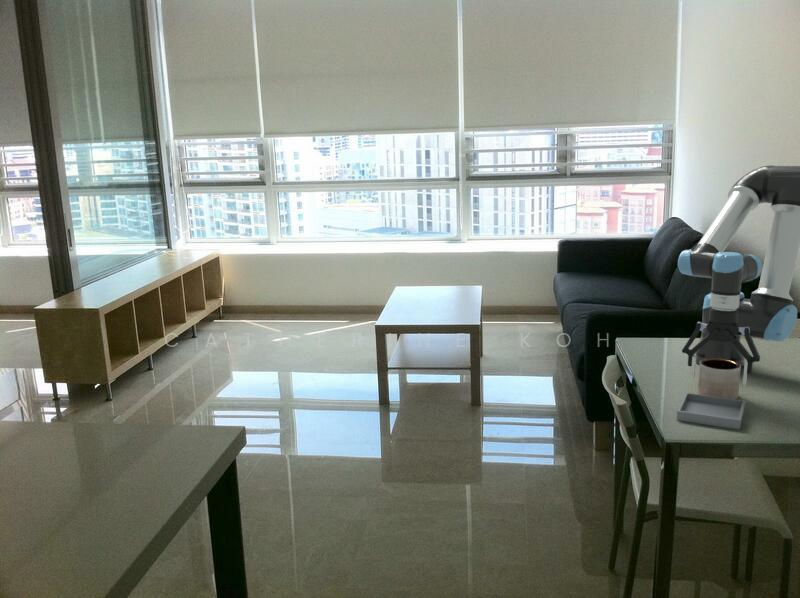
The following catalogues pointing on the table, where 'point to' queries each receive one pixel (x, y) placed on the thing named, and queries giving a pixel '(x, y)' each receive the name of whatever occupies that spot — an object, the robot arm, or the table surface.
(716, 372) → the planter
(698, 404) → the tray
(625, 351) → the table surface
